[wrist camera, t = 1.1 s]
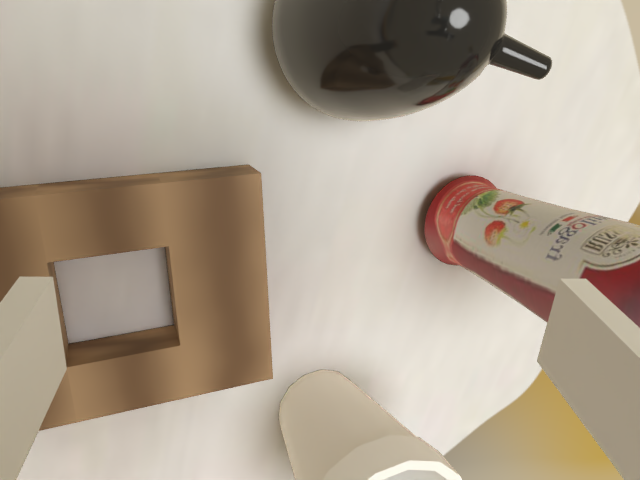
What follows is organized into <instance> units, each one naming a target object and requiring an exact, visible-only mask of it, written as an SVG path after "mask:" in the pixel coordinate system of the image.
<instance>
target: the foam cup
mask: <svg viewBox="0 0 640 480" xmlns="http://www.w3.org/2000/svg"><path fill="white" fill-rule="evenodd" d="M279 421H280V427H281V430H282V434H283V437H284V441H285V445H286V448H287V452H288V455H289V459H290V463H291V466H292V470H293V473H294V477H295V480H462V478H461V476H460V475H459V474H458V473H457V472H456V471H455V469H454V468H453V467H452V466H451V465H450V464H449V462H448V461H447V460H446V459H445V458H444V457H443V456H442V454H441V453H440V452H439V451H437V450H436V449H435V448H433V447H432V446H431V445H429V444H428V443H427V442H425V441H424V440H422V439H421V438H420V437H416V436H415V435H414V434H413V433H412V432H410V431H409V430H408V429H407V428H406V427H405V426H403V425H402V424H401V423H400V422H399V421H397V420H396V419H395V418H394V417H393V416H392V415H390V414H389V413H388V412H387V411H386V410H384V409H383V408H382V407H381V406H380V405H379V404H377V403H376V402H375V401H374V400H373V399H372V398H370V397H369V396H368V395H367V394H366V393H364V392H363V391H362V390H361V389H360V388H359V387H357V386H356V385H355V384H354V383H352V382H351V381H350V380H349V379H347V378H346V377H345V376H343V375H342V374H341V373H339V372H338V371H330V370H319V371H315V372H312V373H309V374H306V375H304V376H302V377H301V378H300V379H299V380H297V381H296V382H295V383H294V384H292V385H291V386H290V387H289V388H288V390H287V392H286V394H285V395H284V397H283V399H282V401H281V402H280V410H279Z"/></svg>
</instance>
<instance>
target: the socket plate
mask: <svg viewBox="0 0 640 480" xmlns="http://www.w3.org/2000/svg"><path fill="white" fill-rule="evenodd" d="M160 247H165V251H166V260H167V269H168V277H169V286H170V294H171V303H172V311H173V320H174V325H172V326H167V327H161V328H155V329H150V330H144V331H139V332H133V333H128V334H122V335H117V336H111V337H105V338H100V339H94V340H89V341H83V342H78V343H72V344H68V339H67V333H66V328H65V323H64V317H63V312H62V306H61V301H60V295H59V290H58V285H57V279H56V274H55V268H54V263H53V262H56V261H63V260H71V259H78V258H86V257H93V256H100V255H108V254H115V253H123V252H130V251H138V250H145V249H152V248H160ZM19 277H53V280H54V286H55V293H56V300H57V306H58V313H59V320H60V326H61V333H62V340H63V346H64V353H65V360H66V367H67V369H66V372H65V374H64V376H63V378H62V380H61V383H60V385H59V387H58V389H57V391H56V393H55V396H54V398H53V400H52V402H51V404H50V407H49V409H48V411H47V413H46V415H45V418H44V420H43V422H42V424H41V426H40V429H39V431H40V430H44V429H49V428H53V427H58V426H62V425H67V424H71V423H76V422H80V421H85V420H89V419H94V418H98V417H103V416H107V415H111V414H116V413H120V412H125V411H129V410H134V409H138V408H143V407H147V406H152V405H156V404H161V403H165V402H170V401H174V400H179V399H183V398H188V397H192V396H197V395H201V394H206V393H210V392H215V391H219V390H224V389H228V388H233V387H237V386H241V385H246V384H250V383H255V382H259V381H264V380H268V379H273V372H272V355H271V337H270V320H269V303H268V285H267V268H266V250H265V233H264V216H263V198H262V181H261V173H260V172H258V171H257V170H256V169H254V168H253V167H251V166H250V165H239V166H229V167H218V168H207V169H196V170H186V171H175V172H164V173H153V174H142V175H132V176H121V177H110V178H99V179H89V180H78V181H67V182H56V183H45V184H35V185H24V186H13V187H2V188H0V302H1V301H2V300H3V298H4V297H5V295H6V294H7V293H8V291H9V290H10V289H11V287H12V286H13V285H14V283H15V282H16V281H17V279H18V278H19Z"/></svg>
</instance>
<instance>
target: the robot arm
mask: <svg viewBox="0 0 640 480" xmlns="http://www.w3.org/2000/svg"><path fill="white" fill-rule="evenodd" d="M537 362H538V363H539V365H540V366H541V367H542V369H543V370H544V371H545V373H546V374H547V375H548V377H549V378H550V380H551V381H552V382H553V384H554V385H555V386H556V388H557V389H558V390H559V392H560V393H561V394H562V396H563V397H564V398H565V400H566V401H567V403H568V404H569V405H570V407H571V408H572V409H573V411H574V412H575V413H576V415H577V416H578V418H579V419H580V420H581V422H582V423H583V424H584V426H585V427H586V428H587V430H588V431H589V433H590V434H591V435H592V437H593V438H594V439H595V440H596V442H597V443H598V445H599V446H600V447H601V449H602V450H603V452H604V453H605V454H606V456H607V457H608V458H609V459H610V461H611V462H612V464H613V465H614V466H615V468H616V469H617V471H618V472H619V473H620V475H621V476H622V477H623V479H624V480H640V328H639V327H638V326H637V325H636V324H635V323H634V322H633V321H632V320H631V319H629V318H628V317H627V316H626V315H625V314H624V313H623V312H622V311H621V310H620V309H619V308H617V307H616V306H615V305H614V304H613V303H612V302H611V301H610V300H609V299H608V298H607V297H605V296H604V295H603V294H602V293H601V292H600V291H599V290H598V289H597V288H596V287H595V286H593V285H592V284H591V283H590V282H589V281H588V280H587V279H560V280H559V283H558V287H557V290H556V294H555V298H554V301H553V305H552V308H551V312H550V316H549V319H548V323H547V326H546V330H545V334H544V337H543V341H542V344H541V348H540V352H539V355H538V359H537ZM66 369H67V367H66V360H65V353H64V346H63V340H62V333H61V326H60V320H59V313H58V306H57V300H56V293H55V286H54V280H53V277H19V278H18V279H17V281H16V282H15V283H14V285H13V286H12V287H11V289H10V290H9V291H8V293H7V294H6V295H5V297H4V298H3V300H2V301H1V302H0V480H16V479H17V477H18V475H19V472H20V470H21V468H22V466H23V464H24V461H25V459H26V457H27V455H28V453H29V450H30V448H31V446H32V444H33V442H34V440H35V437H36V435H37V433H38V431H39V429H40V426H41V424H42V422H43V420H44V418H45V415H46V413H47V411H48V409H49V407H50V404H51V402H52V400H53V398H54V396H55V393H56V391H57V389H58V387H59V385H60V383H61V380H62V378H63V376H64V374H65V372H66Z"/></svg>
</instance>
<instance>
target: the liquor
mask: <svg viewBox="0 0 640 480" xmlns="http://www.w3.org/2000/svg"><path fill="white" fill-rule="evenodd" d="M424 228H425V238H426V242H427V245H428V247H429V249H430V251H431V252H432V254H433V255H434V256H435V257H436V258H437V259H439V260H440V261H442V262H444V263H446V264H451V265H460V266H462V267H464V268H465V269H467V270H469V271H470V272H472V273H473V274H475V275H477V276H478V277H480V278H481V279H483V280H485V281H486V282H488V283H489V284H491V285H492V286H494V287H495V288H497V289H498V290H500V291H502V292H503V293H505V294H506V295H508V296H509V297H511V298H512V299H514V300H515V301H517V302H518V303H520V304H521V305H523V306H524V307H526V308H527V309H529V310H530V311H531V312H533V313H534V314H536V315H537V316H539V317H540V318H541V319H543V320H544V321H546V322H547V323H548V319H549V316H550V312H551V308H552V305H553V301H554V298H555V294H556V290H557V287H558V283H559V280H560V279H587V280H588V281H589V282H590V283H591V284H592V285H593V286H595V287H596V288H597V289H598V290H599V291H600V292H601V293H602V294H603V295H604V296H605V297H607V298H608V299H609V300H610V301H611V302H612V303H613V304H614V305H615V306H616V307H617V308H619V309H620V310H621V311H622V312H623V313H624V314H625V315H626V316H627V317H628V318H629V319H631V320H632V321H633V322H634V323H635V324H636V325H637V326H638V327H639V328H640V226H639V225H636V224H632V223H628V222H624V221H620V220H616V219H612V218H607V217H603V216H599V215H594V214H590V213H586V212H582V211H577V210H573V209H569V208H565V207H561V206H557V205H554V204H550V203H546V202H543V201H539V200H535V199H531V198H528V197H524V196H521V195H517V194H514V193H510V192H507V191H503V190H500V189H497V188H496V187H495V186H494V185H493V184H492V183H491V182H490V181H489V180H487V179H485V178H483V177H479V176H464V177H460V178H458V179H455V180H453V181H451V182H450V183H448V184H447V185H446V186H444V187H443V188H442V189H441V190H440V191H439V192H438V194H437V195H436V196H435V198H434V199H433V201H432V203H431V205H430V207H429V209H428V212H427V215H426V219H425V227H424Z"/></svg>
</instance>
